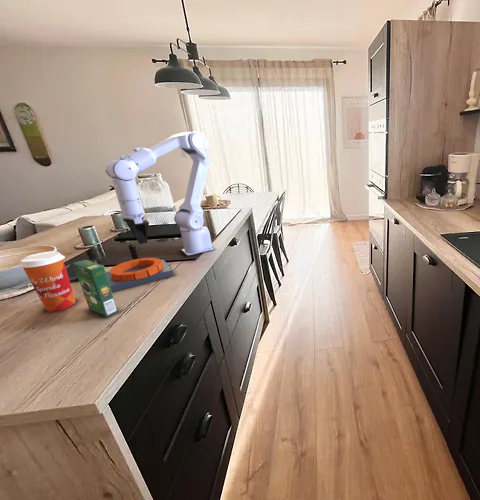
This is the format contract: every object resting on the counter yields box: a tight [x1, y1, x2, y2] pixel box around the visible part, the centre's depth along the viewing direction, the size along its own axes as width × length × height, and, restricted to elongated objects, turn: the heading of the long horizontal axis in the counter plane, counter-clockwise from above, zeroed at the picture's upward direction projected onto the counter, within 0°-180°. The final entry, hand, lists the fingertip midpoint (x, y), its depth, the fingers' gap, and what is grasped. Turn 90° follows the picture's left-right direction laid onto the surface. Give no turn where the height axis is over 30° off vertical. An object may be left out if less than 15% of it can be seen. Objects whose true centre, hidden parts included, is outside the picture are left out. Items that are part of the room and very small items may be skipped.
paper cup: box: [19, 250, 76, 312], centre depth 72 cm, size 8×8×14 cm
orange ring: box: [109, 257, 163, 281], centre depth 89 cm, size 13×13×2 cm
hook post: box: [127, 243, 139, 260], centre depth 99 cm, size 4×4×7 cm
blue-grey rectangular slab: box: [106, 259, 174, 293], centre depth 90 cm, size 16×12×2 cm
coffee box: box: [72, 259, 118, 318], centre depth 70 cm, size 8×3×13 cm, turn 65°
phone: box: [65, 259, 98, 283], centre depth 93 cm, size 8×1×15 cm
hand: (141, 240), depth 95 cm, fingers open, 7 cm apart
